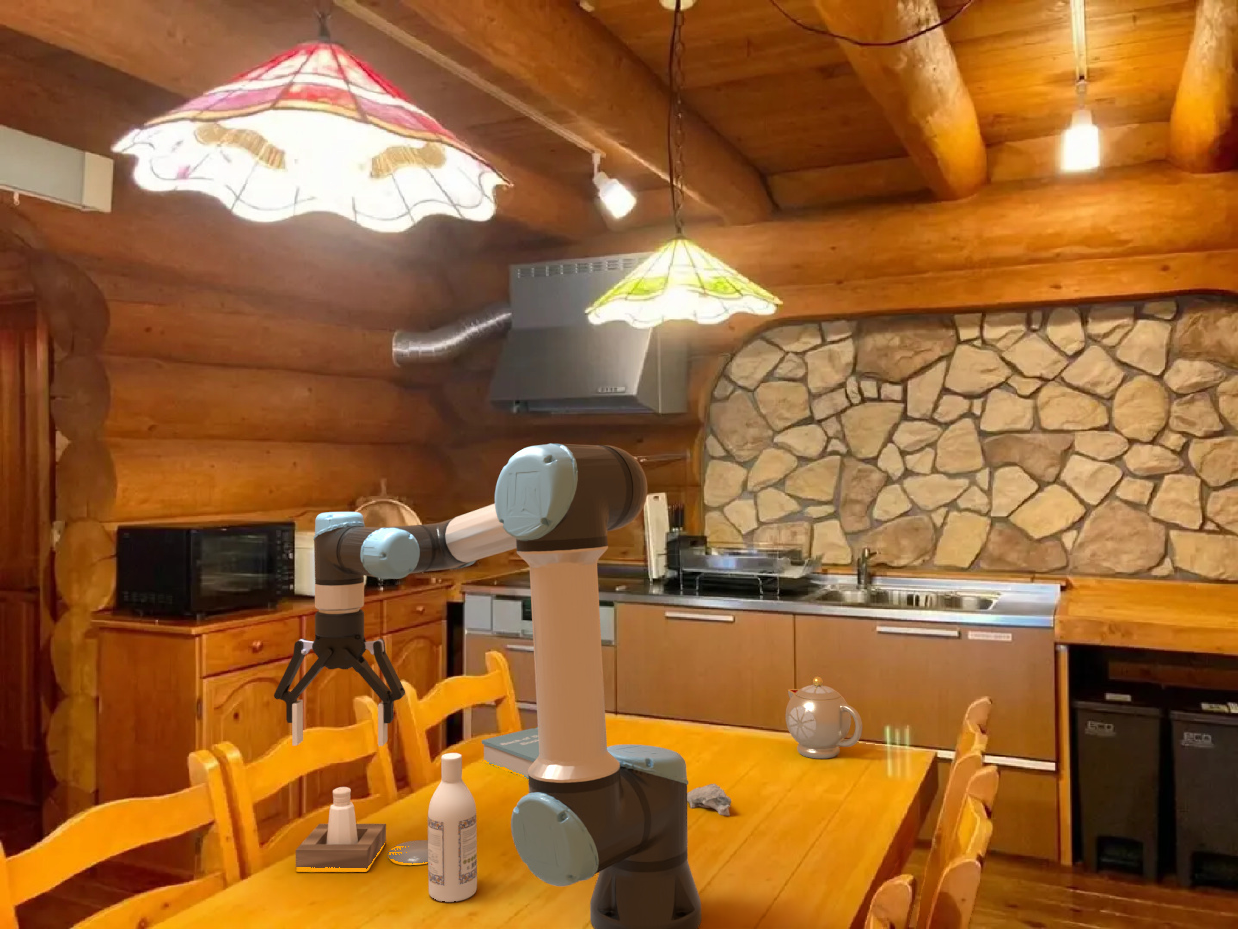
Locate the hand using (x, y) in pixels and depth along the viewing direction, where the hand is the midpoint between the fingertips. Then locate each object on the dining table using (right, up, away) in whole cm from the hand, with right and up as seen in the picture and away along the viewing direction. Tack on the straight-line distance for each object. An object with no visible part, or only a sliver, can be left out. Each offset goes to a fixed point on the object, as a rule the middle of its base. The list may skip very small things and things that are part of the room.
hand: (340, 743), depth 157 cm
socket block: (0, -18, 0) cm, 18 cm away
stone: (+60, -18, +22) cm, 67 cm away
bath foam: (+20, -18, -13) cm, 30 cm away
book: (+29, -19, +47) cm, 58 cm away
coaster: (+12, -18, +1) cm, 22 cm away
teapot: (+88, -17, +52) cm, 104 cm away
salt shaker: (0, -18, 0) cm, 18 cm away
